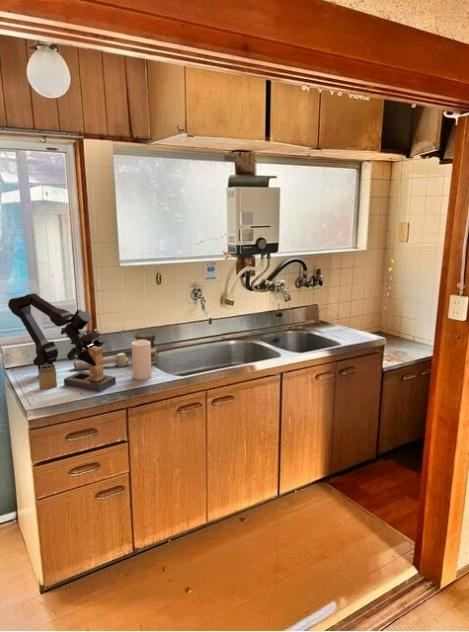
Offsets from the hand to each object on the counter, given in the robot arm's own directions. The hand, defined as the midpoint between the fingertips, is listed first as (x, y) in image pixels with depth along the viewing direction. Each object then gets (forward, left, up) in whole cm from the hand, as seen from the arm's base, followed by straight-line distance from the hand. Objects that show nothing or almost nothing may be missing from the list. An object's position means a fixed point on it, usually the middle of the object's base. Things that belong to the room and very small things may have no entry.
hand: (98, 364), depth 196 cm
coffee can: (+24, +28, -10) cm, 38 cm away
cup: (+19, +7, -10) cm, 23 cm away
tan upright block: (-21, +5, -10) cm, 24 cm away
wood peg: (-1, +1, -7) cm, 7 cm away
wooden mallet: (+3, +26, -11) cm, 28 cm away
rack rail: (-4, +3, -10) cm, 11 cm away
